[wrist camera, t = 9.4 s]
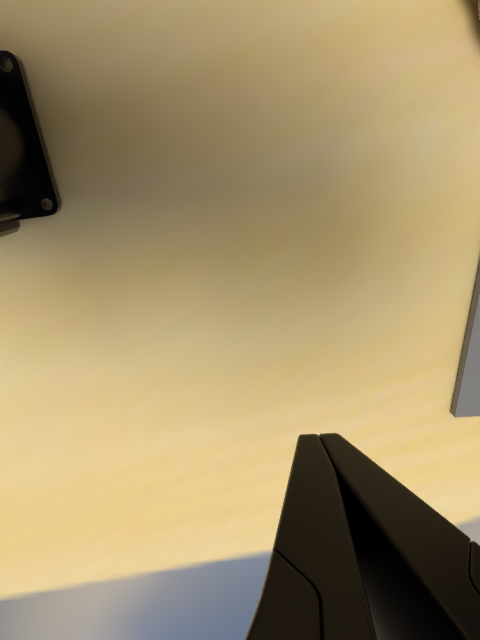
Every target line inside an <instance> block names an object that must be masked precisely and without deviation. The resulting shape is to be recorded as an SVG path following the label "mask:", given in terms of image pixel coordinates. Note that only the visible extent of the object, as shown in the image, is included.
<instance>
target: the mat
mask: <svg viewBox="0 0 480 640" xmlns="http://www.w3.org/2000/svg"><path fill="white" fill-rule="evenodd" d="M450 413H451V414H452V415H453V416H454V417H471V416H480V263H479V268H478V273H477V278H476V283H475V288H474V293H473V299H472V304H471V309H470V314H469V319H468V324H467V329H466V335H465V340H464V345H463V350H462V355H461V360H460V365H459V371H458V376H457V381H456V386H455V391H454V396H453V401H452V407H451V412H450Z"/></svg>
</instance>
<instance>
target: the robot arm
mask: <svg viewBox="0 0 480 640" xmlns="http://www.w3.org/2000/svg"><path fill="white" fill-rule="evenodd" d="M7 60H11V62H12V64H13V68H12V70H11V71H10V72H7V71H6V69H5V65H4V64H5V62H6V61H7ZM46 199H49V200H51V202H52V204H53V207H52V208H51V209H48V208H47V207H46V206H45V200H46ZM60 209H61V200H60V197H59V193H58V190H57V186H56V183H55V179H54V175H53V172H52V168H51V165H50V161H49V157H48V154H47V150H46V147H45V143H44V140H43V136H42V132H41V129H40V125H39V122H38V118H37V114H36V111H35V107H34V104H33V100H32V97H31V93H30V89H29V86H28V82H27V79H26V75H25V71H24V68H23V65H22V63H21V60H20V59H19V58H18V57H17V56H16V55H14V54H12V53H10V52H8V51H0V237H2V236H5V235H8V234H11V233H14V232H17V231H18V229H19V228H20V223H19V220H21V219H28V218H35V217H43V216H50V215H53V214H56V213H58V212H59V211H60ZM245 640H480V545H478V544H477V543H476V542H474V541H472V542H471V543H470V538H469V537H468V536H467V535H466V534H464V533H463V532H462V531H460V530H459V529H458V528H457V527H456V526H454V525H453V524H452V523H450V522H449V521H448V520H447V519H445V518H444V517H443V516H442V515H440V514H439V513H438V512H437V511H435V510H434V509H433V508H432V507H430V506H429V505H428V504H426V503H425V502H424V501H423V500H421V499H420V498H419V497H418V496H416V495H415V494H414V493H413V492H411V491H410V490H409V489H408V488H406V487H405V486H404V485H402V484H401V483H400V482H399V481H397V480H396V479H395V478H394V477H392V476H391V475H390V474H389V473H387V472H386V471H385V470H384V469H382V468H381V467H380V466H379V465H377V464H376V463H375V462H373V461H372V460H371V459H370V458H368V457H367V456H366V455H365V454H363V453H362V452H361V451H360V450H358V449H357V448H356V447H355V446H353V445H352V444H351V443H349V442H348V441H347V440H346V439H344V438H343V437H342V436H341V435H339V434H337V433H325V434H320V435H319V436H318V435H317V434H302V435H299V437H298V441H297V445H296V450H295V454H294V458H293V463H292V467H291V472H290V476H289V480H288V485H287V489H286V493H285V498H284V502H283V507H282V511H281V515H280V520H279V524H278V528H277V533H276V537H275V542H274V546H273V553H272V554H271V558H270V563H269V567H268V571H267V575H266V579H265V582H264V586H263V590H262V593H261V597H260V600H259V603H258V606H257V608H256V611H255V614H254V617H253V620H252V623H251V626H250V628H249V631H248V634H247V636H246V639H245Z"/></svg>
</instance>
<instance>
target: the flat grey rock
mask: <svg viewBox="0 0 480 640" xmlns="http://www.w3.org/2000/svg"><path fill="white" fill-rule="evenodd" d="M478 13H479V20H480V0H478Z"/></svg>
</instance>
